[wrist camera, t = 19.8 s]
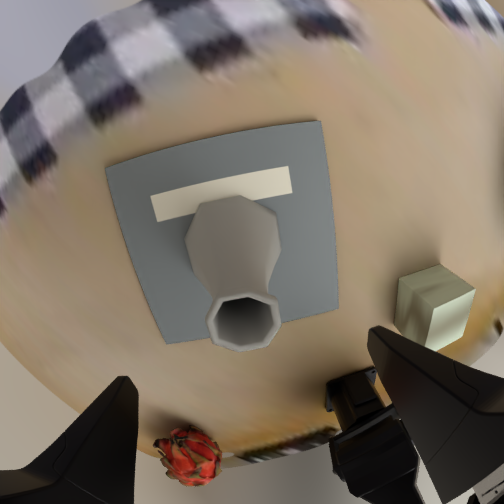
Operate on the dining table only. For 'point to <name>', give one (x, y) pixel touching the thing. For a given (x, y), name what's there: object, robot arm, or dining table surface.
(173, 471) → the dragon fruit
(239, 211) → the flask
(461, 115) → the dining table surface
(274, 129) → the board
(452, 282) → the sage block
